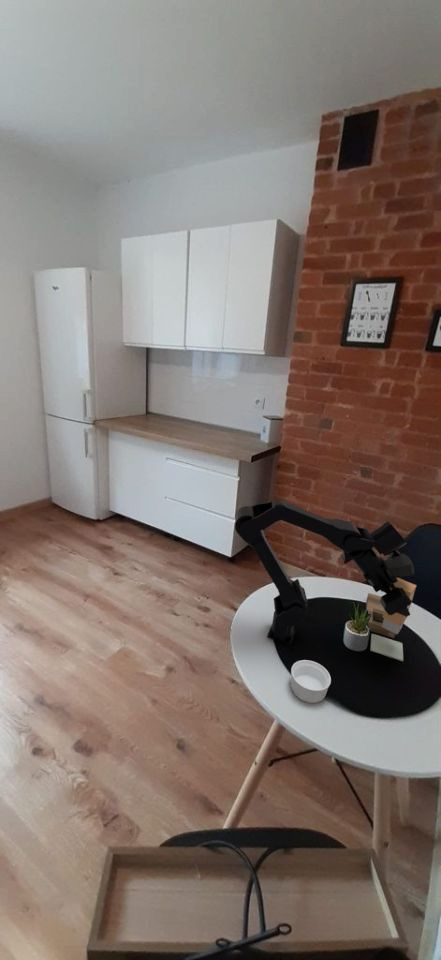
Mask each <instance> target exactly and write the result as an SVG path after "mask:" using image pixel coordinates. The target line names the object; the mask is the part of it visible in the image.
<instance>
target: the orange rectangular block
mask: <svg viewBox="0 0 441 960" xmlns="http://www.w3.org/2000/svg"><path fill="white" fill-rule="evenodd" d="M396 579H397V580H398V581H397V582H396V583H393V584H394V586H395V587H396V588H397V587H398V588H403V589H404V591H405V592H406V593H407V595H408V596H409V598H410V599H411V601H412V602H413V599H414V595H415V592H416V588H417V584H414V583H411V582H409V581H406V580H404V579H402V578H401V577H399V578H397V577H396ZM390 589H391V588H390ZM391 590H392V589H391ZM407 608H408V610H409V611H410V608H411V605H409V606H407ZM383 618H384V620H383V622H382V623H383V624H382V627H383V628H385V629H387V630H389V631H391V632H393V633H395V635H398V634H399V632H400V631H401V629H402V628H403V624H404V623H405V622H406V620H407V618H408V617H406V616H404V615H401V614H399V613H395V614H393V615H388V613H387V612H386V611H385V610H384V613H383Z"/></svg>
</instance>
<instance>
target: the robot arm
mask: <svg viewBox="0 0 441 960" xmlns="http://www.w3.org/2000/svg"><path fill="white" fill-rule="evenodd" d="M280 521H283V522H285V523H286V524H287V523H288V524H290V525H293V526H296V527H298V528H301V529H303V530H306V531H308V532H311V533H313V534H316V535H317V536H321V537H323V538H325V539H326V540H327V541H329V543H331V544H332V545H333V546H335V547H336V548H338V549H340V550H342V552H341V554H340V557H341V559H342V562H343V564H345V565H346V564H348V563H350V562H351V561H352V562H353V563H354V564H355V566H356V568H357V569H358V570H359V571H360V572H361V573H362V575H363V577H364V579H365V580H366V581H367V582H369V583H370V584H371V587H372V588H373V591H374V592H375V593H378V592H382V593H384V595H380V596H381V599H380V602H381V604H382V606H383V608H384V610H385V611H386V612H387V613H388V615H393V614H395V613H399V614H401V615H404V616H406V617H407V618H408V617H409V616H411V613H410V609H409V610H408V608H407V606H409V605H410V606H412V603H413V600H412V601H411V599H410V598H409V596H408V595H407V593H406V592H405V591H404V589H403V588H398V587H397V588H396V587H395V586H394V584H393V583H396V582H397V581H398V580H397V579H396V578H403V577H408V576H413V575H414V574H415V569H414V565H413V561H412V560H411V559H410V557H409V556H408V555H407V554H404V553H403V552H402V553H400V552H399V551H398V550H399V549H400V548H402V547H404V546H405V545H407V544H408V543H407V541H406V540H405V539H404V537H403V536H402V535H401V534H400V532H399V531H398V530H397V529H396V528H395V527H394V526H393V524H392V523H391V522H390V521H386V522H385V523H383V524H382V525H381V526H379V527H378V528H377V529H375V530H373V531H372V532H370V531H369V529H368V528H364V527H360V526H356V525H355V524H354V523H353V522H352V521H348V520H344V519H339V518H327V517H324V516H321V515H319V514H316V513H314V512H311V511H309V510H306V509H303V508H301V507H298V506H296V505H293V504H292V503H289V502H286V501H284V500H283V499H280V498H277V499H274V500H271V501H267V502H259V503H257V504H254V505H251V506H247V505H246V506H242V507H240V508H238V509H237V511H236V514H235V522H234V530H235V531H236V533H237V535H238V536H240V538H241V539H242V541H244V543H246V544H247V545H249V546H250V547H251V548H252V549H253V550H254V551H253V552H254V553H255V554H256V556H257V557H258V559H259V561H260V562H261V564H262V566H263V567H264V569H265V571H266V573H267V574H268V576H269V578H270V579H271V580H272V583H273V585H275V587H276V588H275V589H277V591H278V595H277V596H275V597H274V598H273V604H274V605H273V607H274V612H273V617H272V621H271V622H272V623H271V625H270V628H269V630H268V633H267V634H266V635H267V636H266V637H267V638H268V639H271V640H274V641H277V642H280V643H282V642H283V643H282V644H285V643H286V645H288V646H290V645H292V643H293V642H292V641H293V639H294V636H295V633H296V629H295V628H294V627H296V626H297V624H298V623H299V621H300V620H301V618H303V617H304V616H305V615H306V614H307V612H308V607H307V606H308V604H309V602H308V597H307V595H306V594H307V593H306V591H305V588H304V587H303V586H302V585H301V583H300V580H299V579H298V578H296V579H294V580H293V579H292V578H290V577H289V575H288V573H287V571H286V570H285V568H284V566H283V565H282V563H281V561H280V560H279V557H278V556H277V554H276V553H275V550H274V549H273V548H272V546H271V543H270V542H269V541H268V539H267V536H266V535H265V532H264V530H266V529H268V527H271V526H272V525H274V524H275V523H277V522H280ZM374 549H375V550H376V551H377V552H378V554H379V555H380V556H379V555H378V554H377V553H376V552H375V550H374ZM381 555H383V556H384V557H387V559H384V558H383V557H381ZM390 588H391V589H392V590H391V589H390Z"/></svg>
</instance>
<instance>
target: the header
mask: <svg viewBox="0 0 441 960" xmlns="http://www.w3.org/2000/svg"><path fill="white" fill-rule="evenodd" d="M381 596H382V595H378V594H374V593H370V592H368V593H367V596H366V604H365V610H366V609H367V611H368V614H371V617H370V620H369V622H368V626H369V629H370V632H372V633H376V634H377V635H380V636H381V635H382V636H384V637H387V638H392V639H395V636H396V634H395V633H393V632H391V631H389V630H387V629H385V628H383V627H382V624H383V620H384V618H383V613H384V608H383V606H382V604H381V602H380V599H381Z"/></svg>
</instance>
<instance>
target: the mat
mask: <svg viewBox="0 0 441 960" xmlns="http://www.w3.org/2000/svg"><path fill="white" fill-rule="evenodd" d="M370 652H374V653H377V654H380V655H383V656H386V657H388V658H391V659H395V660H398V661H400V662H404V648H403V642H400V641H397V640H394V639H390V638H389V637H386V636H381V635H379V634H374V633H371V636H370Z"/></svg>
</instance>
